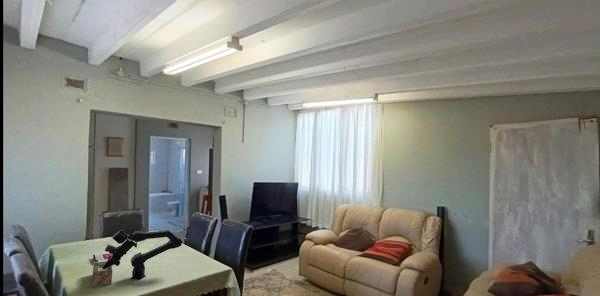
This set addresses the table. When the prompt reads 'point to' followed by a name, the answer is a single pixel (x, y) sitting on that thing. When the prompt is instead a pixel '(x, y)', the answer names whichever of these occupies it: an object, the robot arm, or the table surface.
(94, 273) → the brown rectangular box
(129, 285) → the table surface
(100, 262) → the grey button
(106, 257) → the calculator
